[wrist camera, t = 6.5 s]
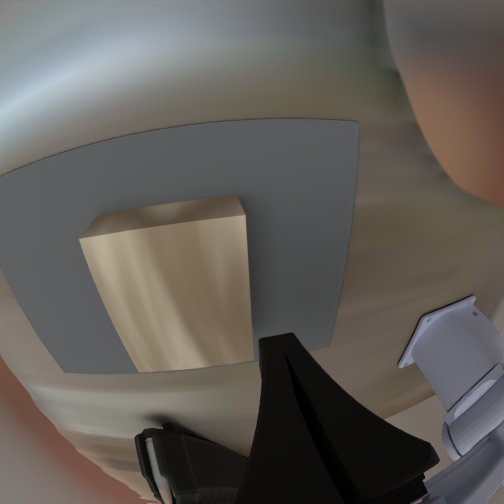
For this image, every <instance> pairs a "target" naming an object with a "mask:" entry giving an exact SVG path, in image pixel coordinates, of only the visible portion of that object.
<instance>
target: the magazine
mask: <svg viewBox="0 0 504 504" xmlns="http://www.w3.org/2000/svg"><path fill="white" fill-rule="evenodd" d="M163 429H164V430H163ZM163 429H156V428H149V429H144V430H143V432H142V433H141V434H138V435H136V436H135V445H136V450H137V455H138V459H139V464H140V468H141V472H142V475H143V477H144V478H146V480H147V482H148V484H149V486H150V488H151V491H152V492H153V493H154V497H155V498H156V499H158V500H159V501H160V502H161V503H162V504H233V502H234V499H235V497H236V494H237V492H238V489H239V486H240V484H241V481H242V478H243V475H244V472H245V468H246V465H247V462H248V459H246V458H244V457H243V456H241V455H239V454H237V453H235V452H233V451H231V450H229V449H227V448H225V447H223V446H220V445H218V444H216V443H213V442H210V441H206V440H202V439H198V438H195V437H191V436H188V435H185V434H182V433H179V432H176V431H175V430H174V427H173V425H172V424H171V423H167V424H163Z"/></svg>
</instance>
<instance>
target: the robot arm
mask: <svg viewBox="0 0 504 504" xmlns="http://www.w3.org/2000/svg"><path fill="white" fill-rule="evenodd" d="M475 299H476V297H475V296H474V295H473V296H471V297H469V298H466V299H464V300H462V301H459V302H457V303H455V304H452V305H450V306H448V307H445V308H443V309H440V310H438V311H435V312H432V313H430V314H427V315H425V316H423V317H422V318H421V320H420V322H419V324H418V327H417V329H416V331H415V333H414V335H413V337H412V339H411V341H410V343H409V345H408V347H407V349H406V351H405V353H404V355H403V357H402V358H401V360H400V362H399V364H398V367H399V368H402V367H405V366H407V365H409V364H412V363H414V362H415V363H416V364H417V366H418V367H419V369H420V370H421V372H422V373H423V375H424V376H425V378H426V379H427V381H428V382H429V384H430V386H431V387H432V389H433V390H434V392H435V393H436V395H437V397H438V398H439V400H440V401H441V403H442V405H443V406H444V408H445V410H446V411H447V414H446V415H445V416H444V417H443V418H444V420H445V422H444V424H443V430H442V440H443V444H444V447H445V449H446V451H447V453H448V454H449V456H450V457H451V458H452V459H453V460H454V461H455V462H454V463H452V464H451V465H449V466H448V467H447V468H445V469H444V470H442V471H441V472H440V473H438V474H437V475H435V476H433V477H432V478H430V479H429V480H427V481H426V482H423V479H425V476H424V472H426V471H427V470H429V469H430V468H432V467H433V466H435V465H436V464H438V463H439V461H440V459H439V457H438V455H437V453H436V452H435V450H434V448H433V447H432V446H431V444H430V443H429V442H426V441H424V440H422V439H419V438H417V437H415V436H412V435H410V434H408V433H406V432H404V431H402V430H400V429H398V428H396V427H394V426H393V425H391V424H390V423H388V422H386V421H385V420H383V419H382V418H380V417H378V416H377V415H375V414H374V413H372V412H371V411H370V410H368V409H367V408H365V407H364V406H363V405H361V404H360V403H359V402H358V401H356V400H355V399H354V398H353V397H351V396H350V395H349V394H348V393H347V392H346V391H345V390H343V389H342V388H341V387H340V386H339V385H338V384H337V383H336V382H335V381H334V380H333V379H332V378H331V377H330V376H329V375H328V374H327V373H326V372H325V371H324V370H323V368H322V367H321V366H320V365H319V364H318V363H317V362H316V361H315V360H314V358H313V357H312V356H311V355H310V354H309V352H308V351H307V350H306V349H305V347H304V346H303V345H302V343H301V342H300V341H299V339H298V338H297V337H296V335H295V334H294V333H293V332H290V333H285V334H280V335H274V336H269V337H263V338H260V339H259V340H258V345H259V366H260V372H261V378H262V386H261V397H260V406H259V413H258V419H257V425H256V430H255V435H254V439H253V443H252V448H251V451H250V455H249V459H248V462H247V465H246V468H245V472H244V475H243V478H242V481H241V484H240V486H239V489H238V492H237V494H236V497H235V499H234V502H233V504H414V503H415V502H417V501H419V500H421V499H422V501H421V502H419V503H417V504H485V503H486V502H487V501H488V500H489V499H490V497H491V496H492V495H493V493H494V492H495V491H496V490H497V488H498V487H499V486H500V484H502V485H503V487H504V363H503V362H504V340H503V337H502V335H501V334H500V332H499V331H498V330H497V329H496V328H495V327H494V326H493V324H492V323H491V322H490V321H489V320H488V319H487V318H486V317H485V316H484V315H483V313H482V312H481V311H480V310H479V309H478V308H477V307H476V306H475V305H474V304H473V303H474V301H475Z"/></svg>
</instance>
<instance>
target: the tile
mask: <svg viewBox="0 0 504 504" xmlns="http://www.w3.org/2000/svg"><path fill="white" fill-rule="evenodd" d="M79 241H80V244H81V247H82V250H83V253H84V256H85V258H86V261H87V264H88V267H89V269H90V272H91V274H92V277H93V279H94V282H95V284H96V287H97V289H98V292H99V294H100V296H101V299H102V301H103V303H104V305H105V308H106V310H107V312H108V314H109V316H110V318H111V321H112V323H113V325H114V327H115V329H116V331H117V333H118V335H119V337H120V339H121V341H122V343H123V345H124V346H125V348H126V350H127V352H128V354H129V356H130V357H131V359H132V361H133V363H134V365H135V366H136V368H137V370H138V371H139V372H157V371H172V370H184V369H194V368H204V367H212V366H220V365H228V364H235V363H241V362H248V361H254V350H253V334H252V317H251V301H250V284H249V267H248V250H247V233H246V215H245V213H244V210H243V208H242V206H241V203H240V201H239V198H238V196H237V195H233V196H224V197H215V198H207V199H199V200H191V201H183V202H176V203H169V204H163V205H156V206H149V207H143V208H137V209H131V210H125V211H120V212H114V213H109V214H103V215H98V216H96V217H95V219H94V220H93V221H92V222H91V224H90V225H89V226H88V228H87V229H86V230H85V231H84V233H83V234H82V235H81V237H80V238H79Z"/></svg>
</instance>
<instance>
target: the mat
mask: <svg viewBox="0 0 504 504" xmlns="http://www.w3.org/2000/svg"><path fill="white" fill-rule="evenodd" d="M358 145H359V122H357V121H345V120H328V119H251V120H234V121H221V122H211V123H201V124H193V125H185V126H178V127H171V128H165V129H159V130H153V131H147V132H142V133H137V134H132V135H127V136H123V137H118V138H114V139H110V140H106V141H102V142H98V143H94V144H90V145H86V146H83V147H79V148H76V149H73V150H69V151H66V152H63V153H60V154H57V155H54V156H51V157H48V158H45V159H42V160H39V161H37V162H34V163H31V164H29V165H26V166H23V167H21V168H19V169H16V170H14V171H11V172H9V173H7V174H4V175H2V176H0V267H1V269H2V271H3V273H4V276H5V278H6V280H7V282H8V284H9V286H10V288H11V290H12V292H13V294H14V296H15V298H16V299H17V301H18V303H19V305H20V307H21V308H22V310H23V312H24V314H25V315H26V317H27V319H28V320H29V322H30V324H31V325H32V327H33V329H34V330H35V332H36V333H37V335H38V336H39V338H40V339H41V341H42V342H43V344H44V345H45V347H46V348H47V350H48V351H49V352H50V354H51V355H52V356H53V358H54V359H55V361H56V362H57V363H58V365H59V366H60V367H61V368H62V370H63V371H64V372H65V373H83V374H132V373H155V372H139V371H138V370H137V368H136V366H135V365H134V363H133V361H132V359H131V357H130V356H129V354H128V352H127V350H126V348H125V346H124V345H123V343H122V341H121V339H120V337H119V335H118V333H117V331H116V329H115V327H114V325H113V323H112V321H111V318H110V316H109V314H108V312H107V310H106V308H105V305H104V303H103V301H102V299H101V296H100V294H99V292H98V289H97V287H96V284H95V282H94V279H93V277H92V274H91V272H90V269H89V267H88V264H87V261H86V258H85V256H84V253H83V250H82V247H81V244H80V241H79V238H80V237H81V235H82V234H83V233H84V231H85V230H86V229H87V228H88V226H89V225H90V224H91V222H92V221H93V220H94V219H95V217H96V216H98V215H103V214H109V213H114V212H120V211H125V210H131V209H137V208H143V207H149V206H156V205H163V204H169V203H176V202H183V201H191V200H199V199H207V198H215V197H224V196H233V195H237V196H238V198H239V201H240V203H241V206H242V208H243V210H244V213H245V215H246V233H247V250H248V267H249V284H250V301H251V317H252V334H253V350H254V361H259V345H258V340H259V339H260V338H263V337H269V336H274V335H280V334H285V333H290V332H293V333H294V334H295V335H296V337H297V338H298V339H299V341H300V342H301V343H302V345H303V346H304V347H305V349H306V350H307V351H309V350H313V349H318V348H322V347H326V346H329V344H330V340H331V336H332V332H333V327H334V323H335V318H336V314H337V309H338V304H339V299H340V294H341V289H342V283H343V278H344V272H345V266H346V260H347V253H348V247H349V240H350V232H351V225H352V217H353V208H354V198H355V188H356V176H357V163H358ZM248 362H253V361H248ZM241 363H247V362H241ZM235 364H240V363H235ZM228 365H234V364H228ZM220 366H227V365H220ZM212 367H219V366H212ZM204 368H211V367H204ZM194 369H202V368H194ZM184 370H193V369H184ZM172 371H182V370H172ZM157 372H170V371H157Z"/></svg>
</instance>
